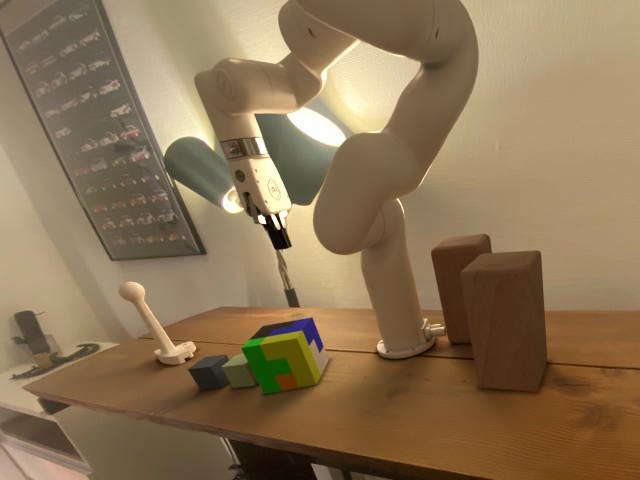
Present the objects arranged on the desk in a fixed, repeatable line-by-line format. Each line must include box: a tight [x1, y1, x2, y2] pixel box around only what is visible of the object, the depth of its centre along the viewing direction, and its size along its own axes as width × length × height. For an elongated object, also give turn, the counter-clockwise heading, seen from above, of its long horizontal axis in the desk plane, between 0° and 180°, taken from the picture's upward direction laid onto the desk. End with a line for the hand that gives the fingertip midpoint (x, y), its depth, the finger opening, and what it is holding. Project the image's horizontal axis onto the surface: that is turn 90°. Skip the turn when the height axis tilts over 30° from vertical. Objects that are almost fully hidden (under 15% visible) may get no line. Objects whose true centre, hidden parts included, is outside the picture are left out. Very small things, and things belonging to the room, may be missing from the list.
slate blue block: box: [187, 354, 230, 391], centre depth 77 cm, size 5×5×5 cm
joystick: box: [118, 281, 197, 366], centre depth 90 cm, size 11×8×20 cm
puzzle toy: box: [240, 316, 330, 395], centre depth 73 cm, size 10×10×10 cm
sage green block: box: [222, 353, 259, 389], centre depth 76 cm, size 5×5×5 cm
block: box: [430, 233, 493, 345], centre depth 76 cm, size 10×10×20 cm
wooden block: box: [460, 249, 549, 393], centre depth 60 cm, size 10×10×20 cm
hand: (283, 248), depth 80 cm, fingers closed
